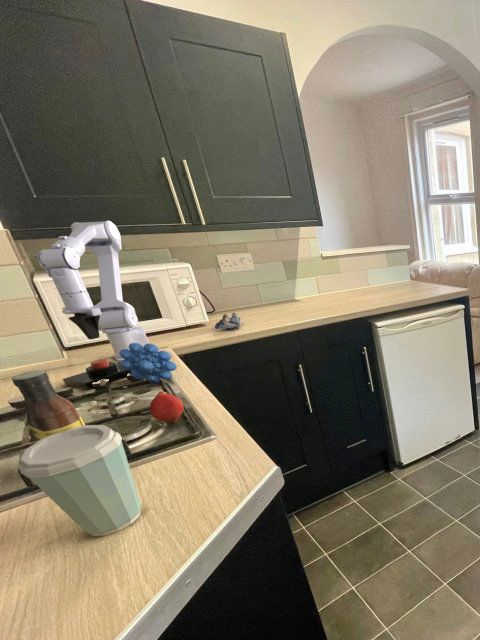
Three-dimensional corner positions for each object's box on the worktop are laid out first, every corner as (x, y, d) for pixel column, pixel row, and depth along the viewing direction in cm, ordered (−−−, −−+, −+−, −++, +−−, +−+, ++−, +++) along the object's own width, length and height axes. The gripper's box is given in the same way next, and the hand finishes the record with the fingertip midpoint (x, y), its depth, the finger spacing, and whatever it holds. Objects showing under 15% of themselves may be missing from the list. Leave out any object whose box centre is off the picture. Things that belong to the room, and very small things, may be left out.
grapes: (125, 392, 112) (106, 350, 107) (132, 384, 118) (114, 343, 113) (178, 383, 117) (161, 342, 112) (182, 375, 123) (167, 335, 118)
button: (104, 364, 123) (102, 358, 123) (112, 365, 122) (109, 359, 121) (90, 368, 120) (87, 363, 120) (97, 370, 119) (94, 364, 118)
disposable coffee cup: (163, 519, 65) (122, 436, 59) (68, 562, 58) (10, 472, 52) (149, 492, 72) (111, 414, 65) (62, 527, 64) (10, 444, 58)
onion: (152, 430, 92) (137, 398, 89) (164, 419, 97) (150, 387, 94) (182, 426, 93) (168, 394, 90) (192, 414, 98) (180, 383, 95)
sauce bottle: (72, 465, 80) (18, 369, 72) (112, 457, 82) (63, 363, 74) (52, 484, 75) (-9, 383, 67) (95, 476, 77) (41, 376, 69)
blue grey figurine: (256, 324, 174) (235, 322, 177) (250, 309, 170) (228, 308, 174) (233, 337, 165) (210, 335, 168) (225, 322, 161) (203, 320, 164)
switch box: (122, 368, 130) (117, 356, 129) (144, 371, 127) (139, 359, 125) (66, 386, 119) (59, 373, 117) (89, 390, 115) (82, 377, 113)
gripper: (41, 294, 118) (63, 340, 124) (70, 295, 113) (92, 343, 119) (72, 290, 125) (92, 334, 130) (101, 291, 120) (120, 336, 125)
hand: (94, 338), depth 125 cm, fingers closed
